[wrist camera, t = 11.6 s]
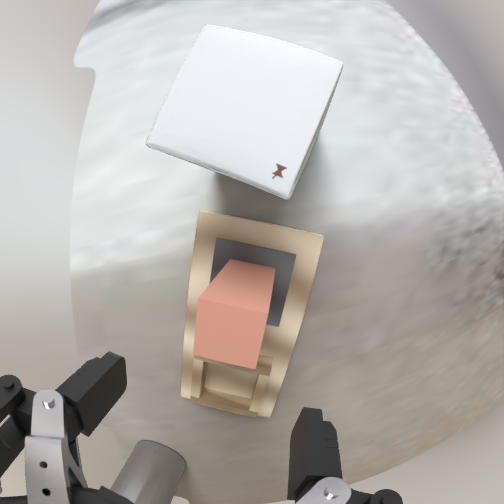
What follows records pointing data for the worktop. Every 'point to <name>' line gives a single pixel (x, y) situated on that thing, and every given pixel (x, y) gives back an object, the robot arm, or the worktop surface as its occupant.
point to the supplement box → (247, 107)
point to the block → (234, 314)
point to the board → (279, 317)
